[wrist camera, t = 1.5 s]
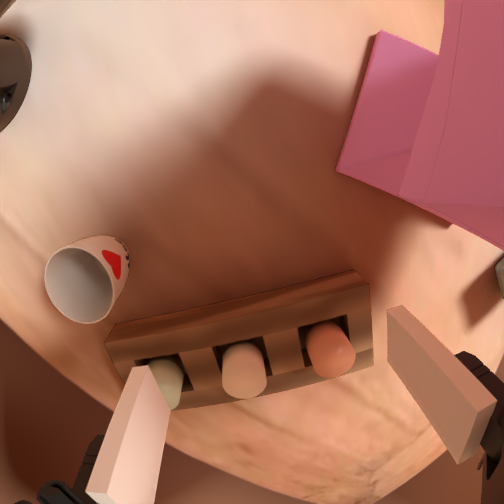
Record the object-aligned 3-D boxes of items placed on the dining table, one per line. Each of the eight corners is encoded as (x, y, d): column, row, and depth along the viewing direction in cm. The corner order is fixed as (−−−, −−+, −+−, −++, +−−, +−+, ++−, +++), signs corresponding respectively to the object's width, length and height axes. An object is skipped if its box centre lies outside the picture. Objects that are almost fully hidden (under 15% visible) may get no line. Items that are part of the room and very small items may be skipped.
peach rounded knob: (218, 345, 37) (216, 370, 32) (257, 336, 37) (261, 361, 32) (228, 375, 38) (228, 402, 33) (266, 368, 38) (270, 393, 33)
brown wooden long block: (115, 324, 40) (103, 343, 35) (353, 269, 39) (368, 284, 35) (147, 391, 43) (140, 413, 38) (360, 345, 43) (373, 365, 38)
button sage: (141, 358, 37) (131, 383, 32) (176, 353, 37) (170, 378, 32) (155, 387, 38) (148, 412, 33) (189, 382, 38) (185, 408, 33)
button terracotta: (301, 326, 37) (310, 349, 32) (340, 315, 37) (354, 337, 32) (307, 358, 38) (316, 382, 33) (343, 347, 38) (356, 370, 33)
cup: (142, 289, 39) (118, 328, 29) (85, 284, 38) (50, 318, 28) (141, 225, 36) (112, 248, 27) (81, 223, 36) (40, 243, 26)
